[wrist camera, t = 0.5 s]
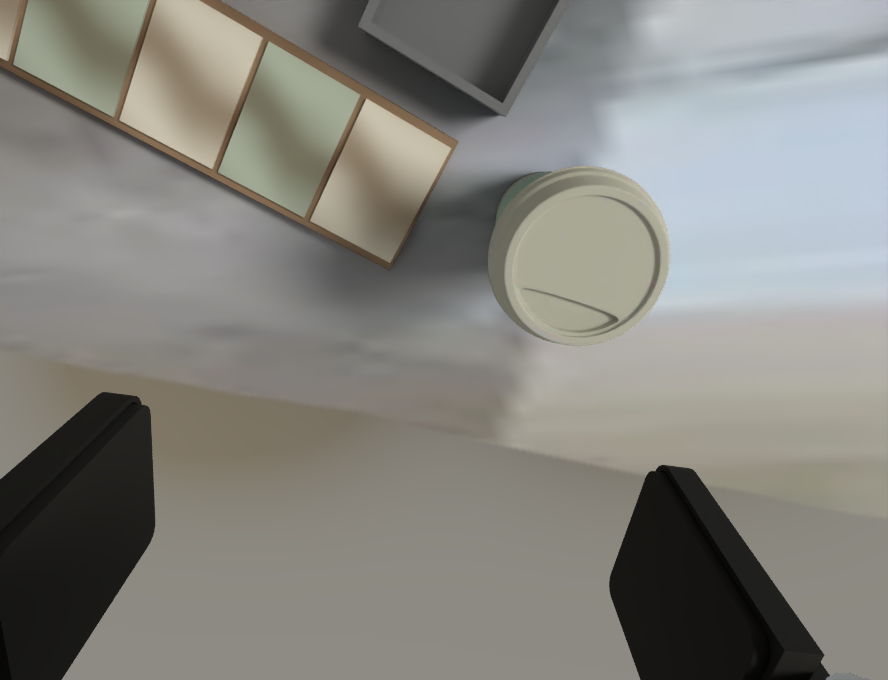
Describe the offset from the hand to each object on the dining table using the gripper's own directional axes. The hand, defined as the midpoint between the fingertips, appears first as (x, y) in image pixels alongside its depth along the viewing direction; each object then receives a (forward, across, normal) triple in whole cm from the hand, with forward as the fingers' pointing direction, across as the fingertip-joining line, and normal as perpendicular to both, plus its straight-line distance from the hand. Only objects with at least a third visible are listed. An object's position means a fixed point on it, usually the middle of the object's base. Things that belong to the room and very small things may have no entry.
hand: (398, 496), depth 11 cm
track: (+28, +14, -6) cm, 32 cm away
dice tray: (+28, -1, -13) cm, 30 cm away
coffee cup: (+28, -7, -1) cm, 29 cm away
